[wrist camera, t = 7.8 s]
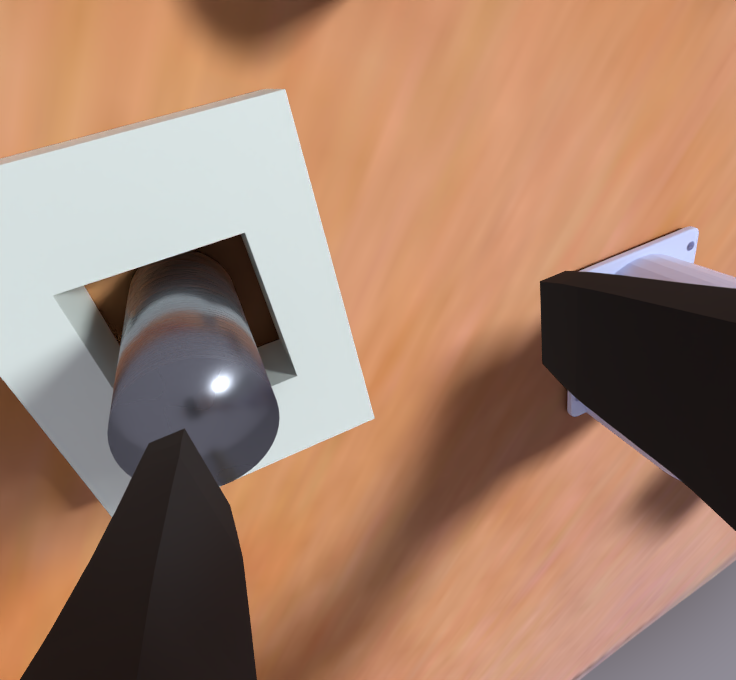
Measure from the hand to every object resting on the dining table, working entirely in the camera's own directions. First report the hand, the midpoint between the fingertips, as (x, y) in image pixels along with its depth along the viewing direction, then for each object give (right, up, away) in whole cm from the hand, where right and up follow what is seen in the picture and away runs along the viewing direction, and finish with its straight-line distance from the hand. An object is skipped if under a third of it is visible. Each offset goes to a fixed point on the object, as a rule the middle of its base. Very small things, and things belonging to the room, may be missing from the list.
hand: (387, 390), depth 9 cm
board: (-7, +2, +8) cm, 11 cm away
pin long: (-7, +2, +8) cm, 11 cm away
